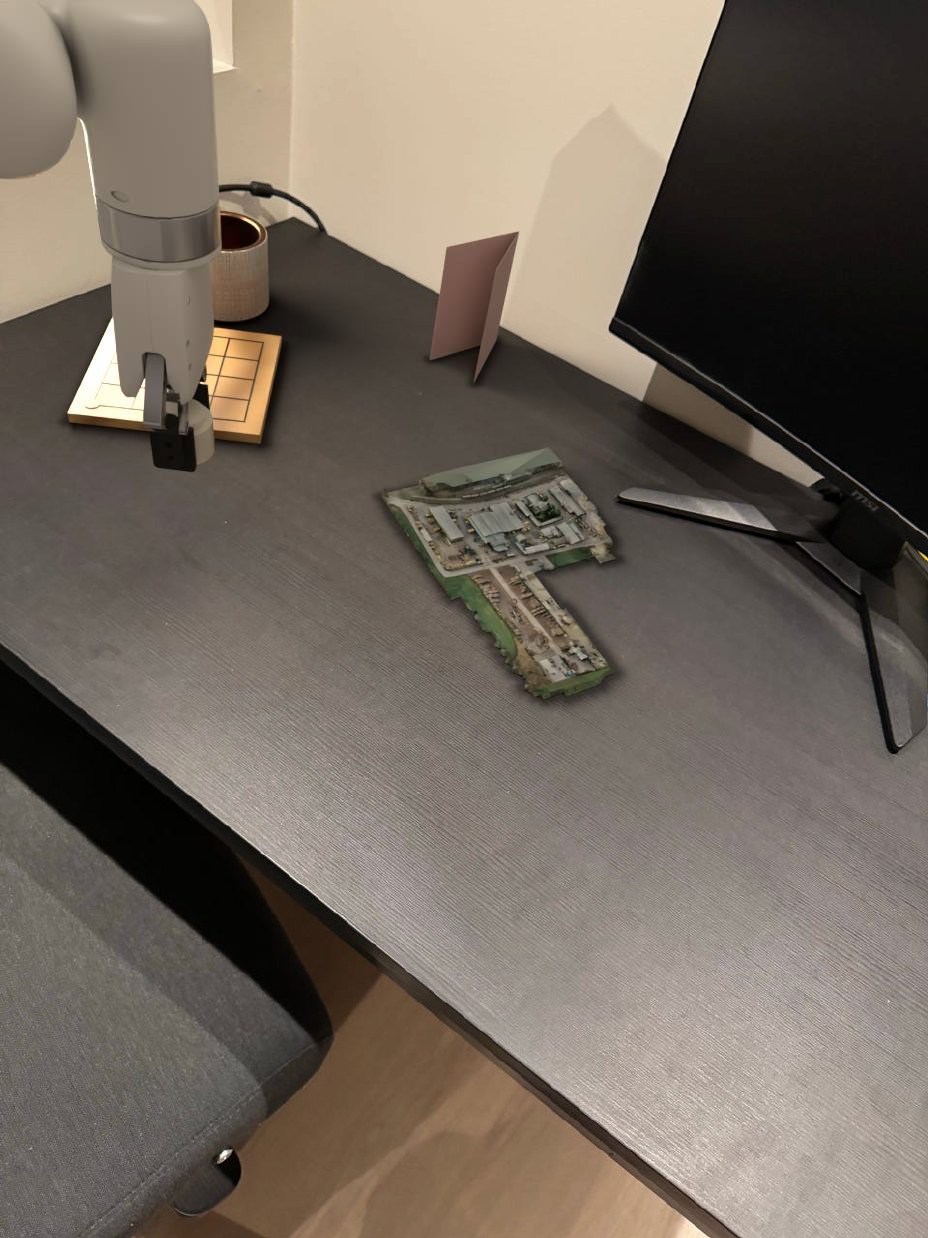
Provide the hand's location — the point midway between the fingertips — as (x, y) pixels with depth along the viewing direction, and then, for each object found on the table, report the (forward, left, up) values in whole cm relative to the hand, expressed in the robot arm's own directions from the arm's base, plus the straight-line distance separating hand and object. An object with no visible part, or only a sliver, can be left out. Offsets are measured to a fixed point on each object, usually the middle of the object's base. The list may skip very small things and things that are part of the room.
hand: (183, 443), depth 68 cm
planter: (-5, +48, -15) cm, 51 cm away
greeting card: (+28, +42, -15) cm, 53 cm away
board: (-7, +30, -15) cm, 34 cm away
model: (+33, +5, -15) cm, 37 cm away
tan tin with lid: (0, 0, 0) cm, 0 cm away
